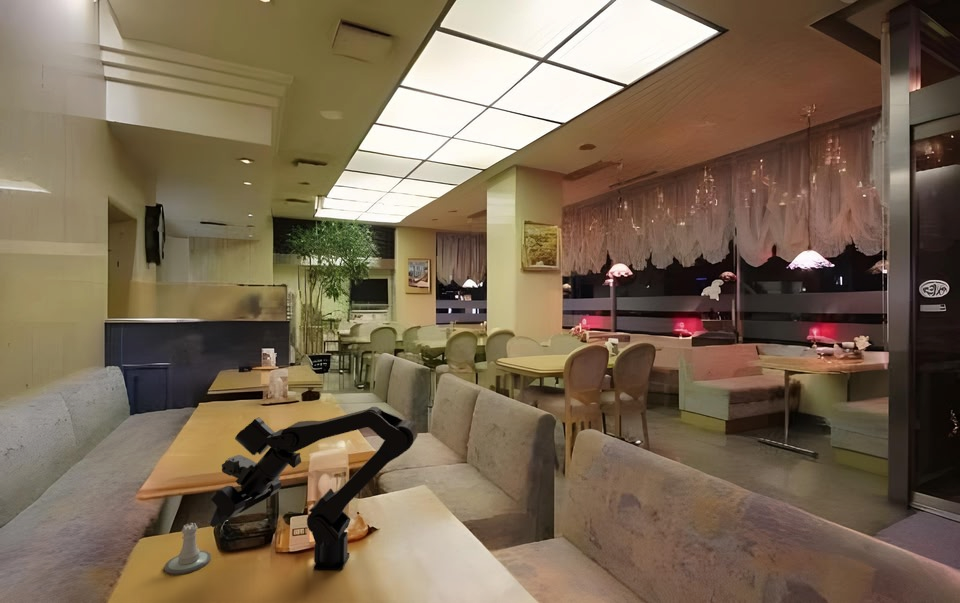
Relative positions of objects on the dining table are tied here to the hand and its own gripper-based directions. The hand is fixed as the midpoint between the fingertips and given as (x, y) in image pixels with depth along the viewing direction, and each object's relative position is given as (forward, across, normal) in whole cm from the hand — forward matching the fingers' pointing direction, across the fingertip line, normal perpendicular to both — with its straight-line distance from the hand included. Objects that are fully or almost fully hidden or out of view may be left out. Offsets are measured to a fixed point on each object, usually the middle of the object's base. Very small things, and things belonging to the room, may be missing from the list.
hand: (225, 518), depth 107 cm
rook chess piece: (+12, +2, 0) cm, 12 cm away
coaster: (+12, +1, +1) cm, 12 cm away
